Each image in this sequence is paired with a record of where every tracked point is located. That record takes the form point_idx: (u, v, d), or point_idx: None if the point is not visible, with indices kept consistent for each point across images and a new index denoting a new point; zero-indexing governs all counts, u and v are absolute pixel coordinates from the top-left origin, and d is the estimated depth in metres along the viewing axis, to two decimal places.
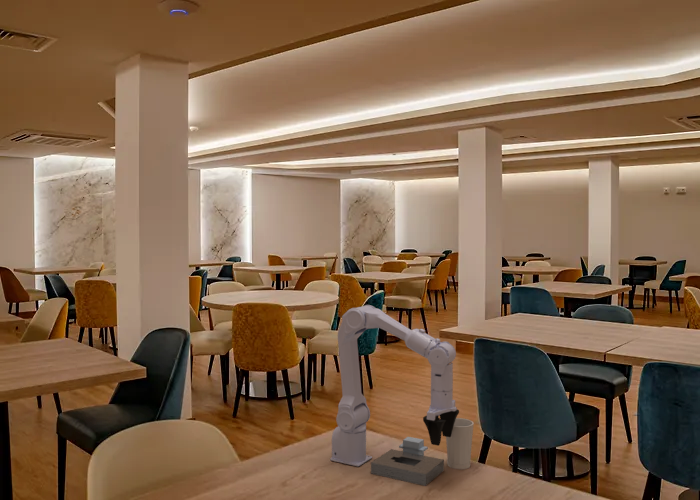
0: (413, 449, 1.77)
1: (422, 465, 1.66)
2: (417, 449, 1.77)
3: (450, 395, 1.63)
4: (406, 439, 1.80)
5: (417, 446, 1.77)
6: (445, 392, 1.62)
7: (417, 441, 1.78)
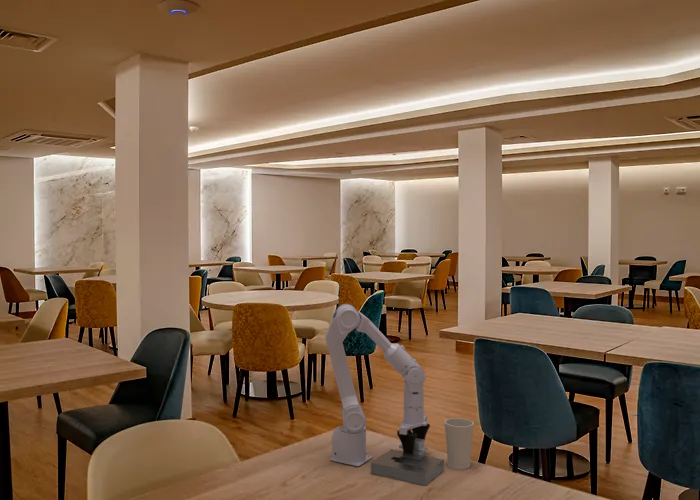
0: None
1: (422, 465, 1.66)
2: (417, 449, 1.77)
3: (421, 411, 1.77)
4: None
5: (417, 446, 1.77)
6: (416, 408, 1.76)
7: (417, 441, 1.78)
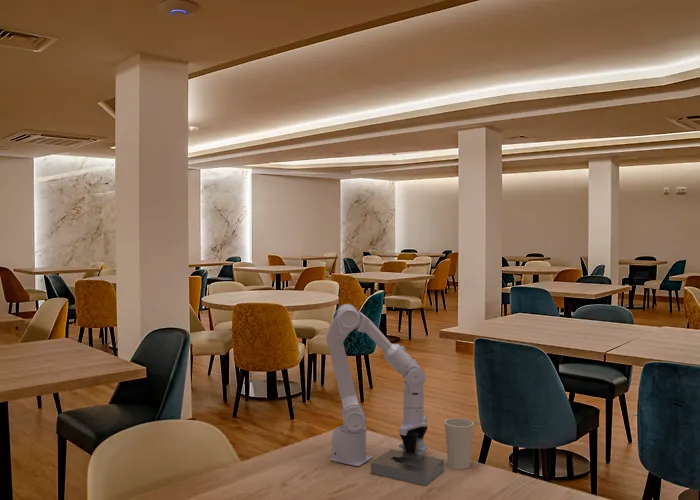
0: None
1: (422, 465, 1.66)
2: (417, 449, 1.77)
3: (421, 412, 1.77)
4: None
5: (417, 445, 1.77)
6: (416, 409, 1.76)
7: (417, 441, 1.78)
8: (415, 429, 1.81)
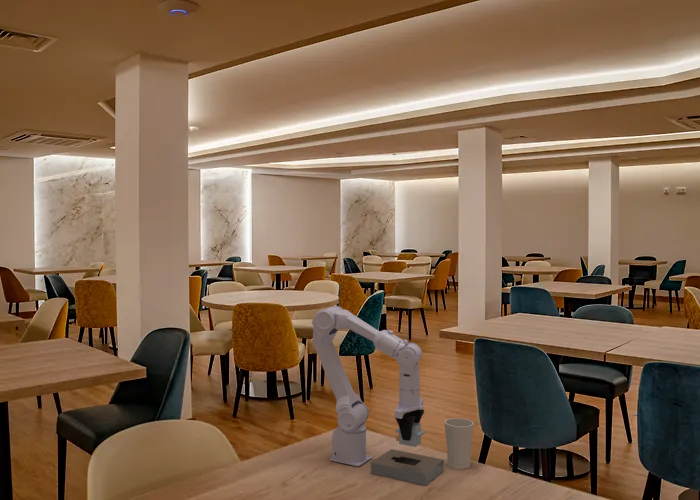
0: None
1: (422, 465, 1.66)
2: (414, 433, 1.69)
3: (417, 394, 1.70)
4: None
5: (414, 430, 1.69)
6: (412, 391, 1.69)
7: (414, 425, 1.70)
8: (411, 413, 1.73)
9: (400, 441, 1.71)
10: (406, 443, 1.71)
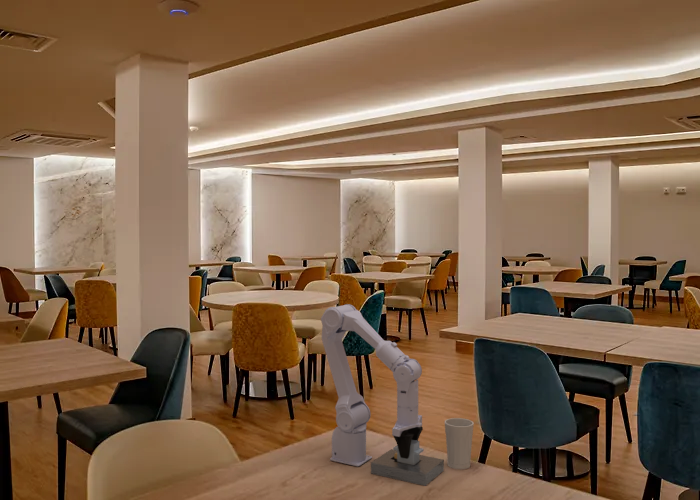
0: None
1: (422, 465, 1.66)
2: (412, 451, 1.67)
3: (415, 411, 1.67)
4: None
5: (412, 448, 1.67)
6: (410, 408, 1.66)
7: (412, 443, 1.68)
8: (410, 430, 1.71)
9: (398, 459, 1.69)
10: (404, 461, 1.68)
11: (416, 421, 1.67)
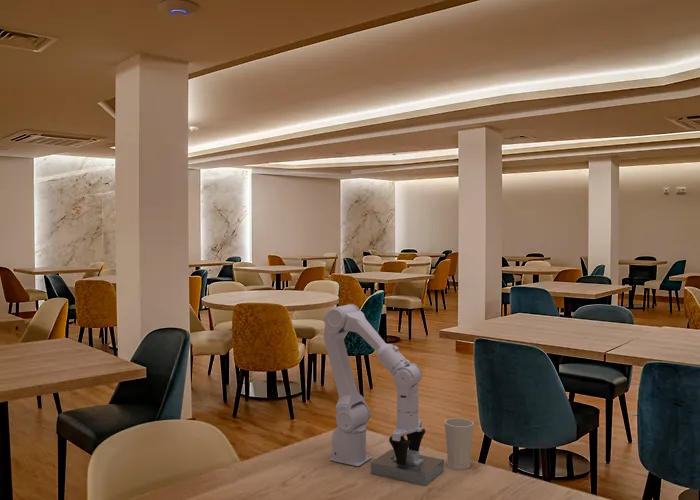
0: (408, 462, 1.67)
1: (422, 465, 1.66)
2: (412, 462, 1.67)
3: (415, 416, 1.67)
4: None
5: (412, 459, 1.67)
6: (410, 413, 1.66)
7: (412, 454, 1.68)
8: (412, 432, 1.72)
9: None
10: None
11: (416, 426, 1.67)
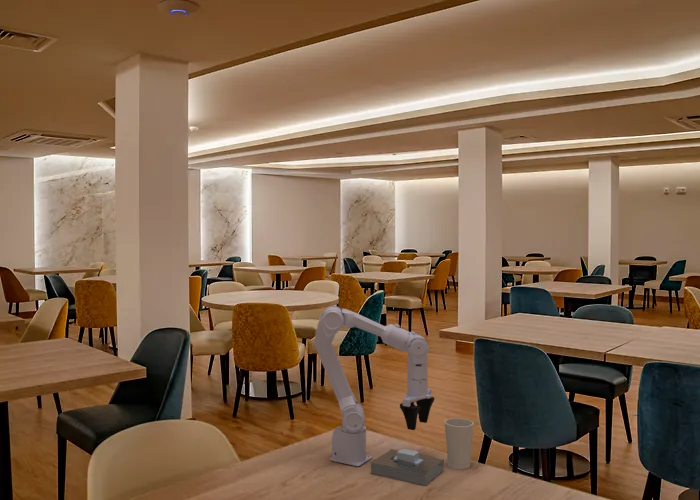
0: (408, 462, 1.67)
1: (422, 465, 1.66)
2: (412, 462, 1.67)
3: (425, 383, 1.75)
4: (400, 451, 1.69)
5: (412, 459, 1.67)
6: (420, 380, 1.75)
7: (412, 454, 1.68)
8: (422, 400, 1.81)
9: None
10: None
11: (425, 393, 1.76)
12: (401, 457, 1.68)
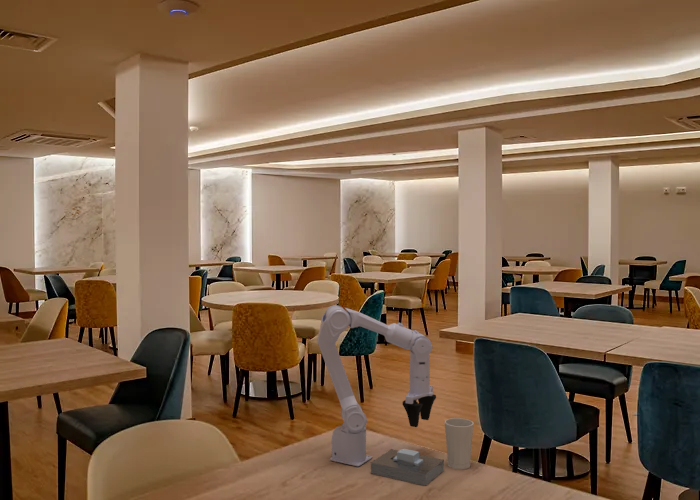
0: (408, 462, 1.67)
1: (422, 465, 1.66)
2: (412, 462, 1.67)
3: (427, 381, 1.78)
4: (400, 451, 1.69)
5: (412, 459, 1.67)
6: (422, 378, 1.77)
7: (412, 454, 1.68)
8: (424, 398, 1.83)
9: None
10: None
11: (428, 390, 1.78)
12: (401, 457, 1.68)
